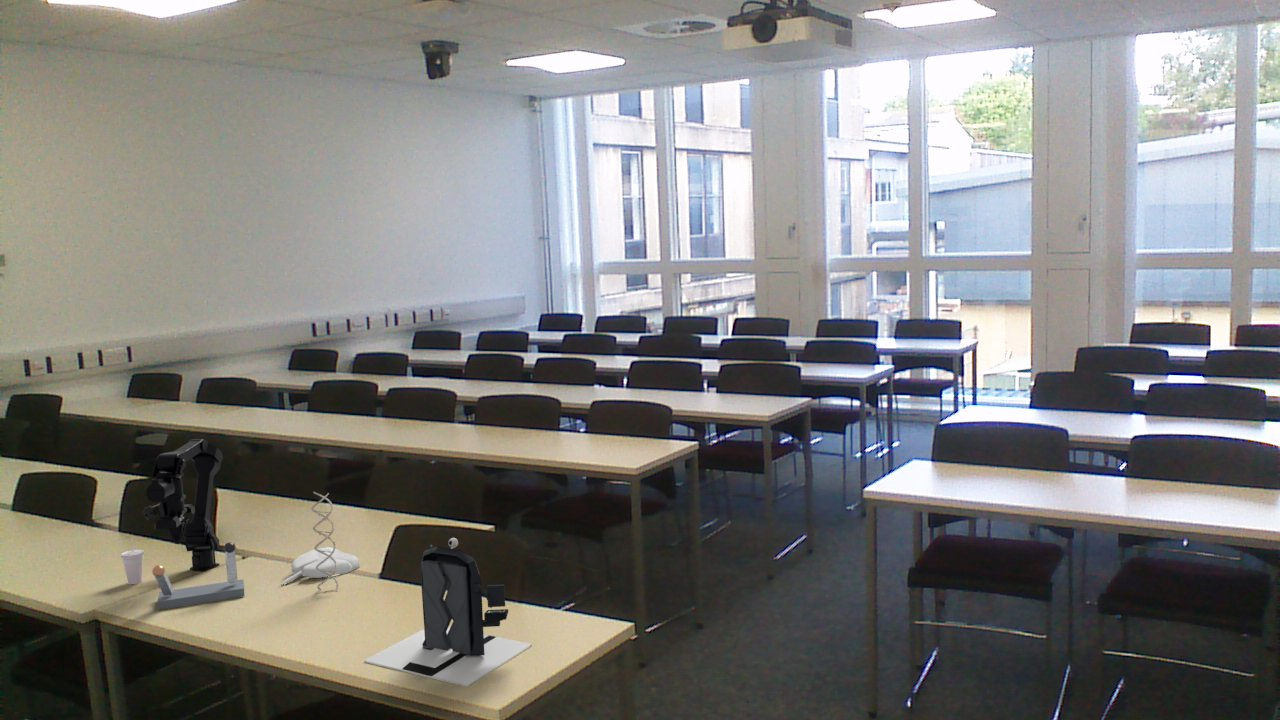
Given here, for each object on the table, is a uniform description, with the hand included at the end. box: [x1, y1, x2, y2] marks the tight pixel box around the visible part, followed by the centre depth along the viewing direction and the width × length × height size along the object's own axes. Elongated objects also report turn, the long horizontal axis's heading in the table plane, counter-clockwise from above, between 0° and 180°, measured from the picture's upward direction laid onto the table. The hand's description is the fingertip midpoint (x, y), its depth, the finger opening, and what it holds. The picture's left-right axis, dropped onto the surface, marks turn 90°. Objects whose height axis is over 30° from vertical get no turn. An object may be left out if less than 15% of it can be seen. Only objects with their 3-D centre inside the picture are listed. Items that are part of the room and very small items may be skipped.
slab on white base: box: [364, 537, 533, 688], centre depth 238 cm, size 32×25×28 cm
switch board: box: [156, 578, 245, 611], centre depth 285 cm, size 9×23×2 cm, turn 113°
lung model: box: [281, 546, 361, 584], centre depth 304 cm, size 7×17×25 cm
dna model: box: [311, 491, 339, 591], centre depth 287 cm, size 7×6×30 cm
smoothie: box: [120, 538, 145, 586], centre depth 301 cm, size 6×6×14 cm
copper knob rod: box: [151, 564, 175, 596], centre depth 277 cm, size 3×3×12 cm
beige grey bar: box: [223, 542, 239, 584], centre depth 288 cm, size 3×3×12 cm
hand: (177, 543), depth 297 cm, fingers closed
